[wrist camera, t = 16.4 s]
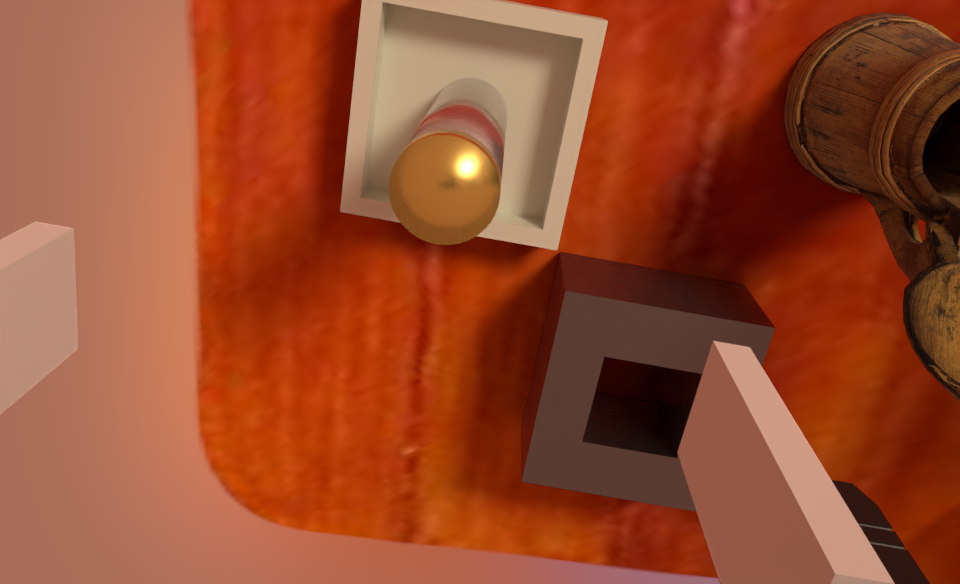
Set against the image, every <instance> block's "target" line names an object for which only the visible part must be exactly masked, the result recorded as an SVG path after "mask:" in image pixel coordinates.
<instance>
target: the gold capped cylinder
mask: <svg viewBox="0 0 960 584" xmlns="http://www.w3.org/2000/svg"><path fill="white" fill-rule="evenodd" d="M506 127H507V108H506V104H505V101H504V99H503V97H502V95H501V94H500V93H499V91H498V90H497V89H496V88H495V87H494V86H492V85H491V84H490V83H488V82H486V81H484V80H481V79H477V78H463V79H459V80H456V81H454V82H452V83H450V84H449V85H447V86H446V87H445V88H444V89H443V90H442V91H441V93H440V94H439V96H438V97H437V99H436V100H435V102H434V103H433V105H432V107H431V108H430V110H429V111H428V113H427V114H426V116H425V117H424V119H423V121H422V122H421V124H420V125H419V127H418V128H417V130H416V131H415V133H414V135H413V136H412V138H411V139H410V141H409V142H408V144H407V146H406V147H405V149H404V150H403V152H402V153H401V155H400V156H399V158H398V160H397V161H396V163H395V165H394V167H393V169H392V172H391V175H390V180H389V198H390V203H391V206H392V209H393V211H394V213H395V215H396V217H397V219H398V220H399V221H400V223H401V224H402V225H403V226H404V227H405V228H406V229H407V230H408V231H409V232H410V233H412V234H413V235H414V236H416V237H418V238H420V239H422V240H424V241H427V242H429V243H433V244H439V245H453V244H459V243H463V242H466V241H468V240H470V239H472V238H474V237H476V236H477V235H479V234H480V233H481V232H482V231H483V230H484V229H486V228H487V226H488V225H489V224H490V223H491V221H492V219H493V218H494V216H495V214H496V211H497V209H498V205H499V200H500V191H501V180H502V170H503V159H504V148H505V138H506Z"/></svg>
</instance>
